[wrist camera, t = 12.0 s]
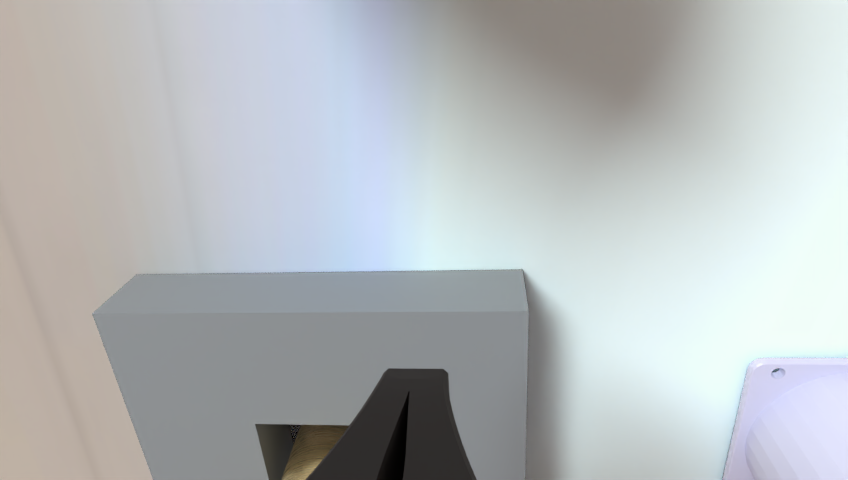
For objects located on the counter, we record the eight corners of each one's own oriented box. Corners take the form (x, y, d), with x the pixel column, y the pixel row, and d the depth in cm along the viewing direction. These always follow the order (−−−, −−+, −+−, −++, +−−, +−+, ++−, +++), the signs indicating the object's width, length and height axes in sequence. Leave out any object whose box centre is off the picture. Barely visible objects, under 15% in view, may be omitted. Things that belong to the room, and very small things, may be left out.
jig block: (522, 269, 22) (528, 311, 19) (518, 545, 29) (522, 605, 26) (136, 274, 24) (92, 313, 21) (218, 534, 30) (193, 589, 28)
